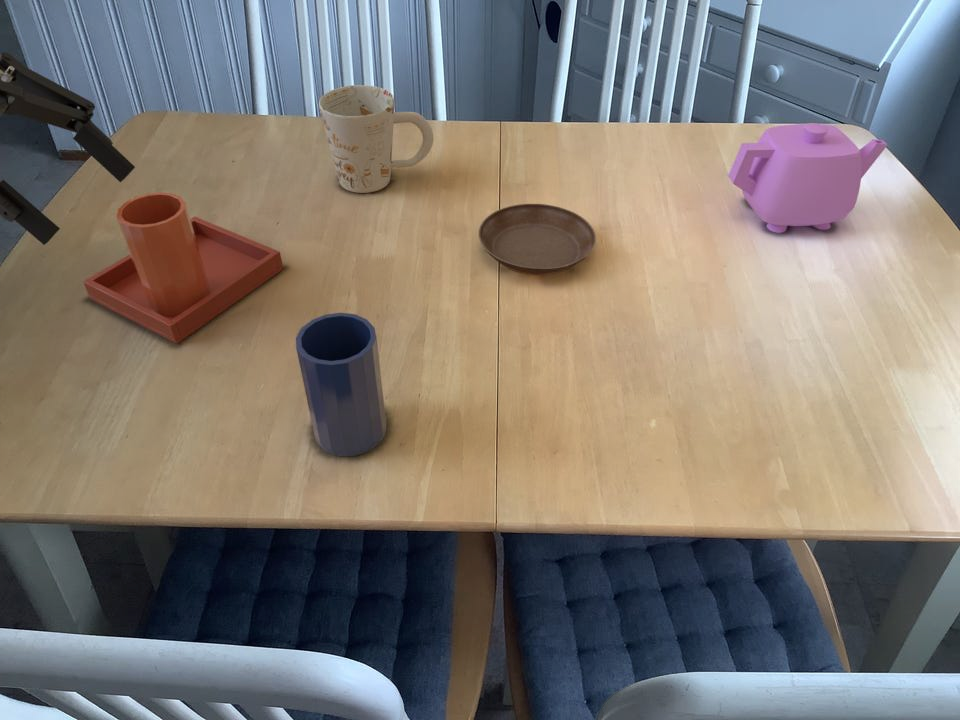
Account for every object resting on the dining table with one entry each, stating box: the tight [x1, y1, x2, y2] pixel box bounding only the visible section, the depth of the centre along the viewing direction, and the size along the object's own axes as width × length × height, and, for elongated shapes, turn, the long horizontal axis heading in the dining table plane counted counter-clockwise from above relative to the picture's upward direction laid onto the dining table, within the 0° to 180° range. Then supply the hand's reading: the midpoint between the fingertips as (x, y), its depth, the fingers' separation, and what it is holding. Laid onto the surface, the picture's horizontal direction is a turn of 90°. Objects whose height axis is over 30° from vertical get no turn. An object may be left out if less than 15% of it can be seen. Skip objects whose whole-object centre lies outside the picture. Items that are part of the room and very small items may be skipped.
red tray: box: [82, 216, 284, 345], centre depth 94 cm, size 17×15×3 cm
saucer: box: [478, 203, 597, 276], centre depth 99 cm, size 15×15×3 cm
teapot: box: [727, 122, 888, 234], centre depth 102 cm, size 20×12×13 cm, turn 97°
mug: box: [318, 84, 434, 194], centre depth 109 cm, size 10×15×12 cm, turn 101°
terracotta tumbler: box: [116, 191, 211, 316], centre depth 87 cm, size 7×7×12 cm
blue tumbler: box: [295, 312, 387, 457], centre depth 73 cm, size 7×7×12 cm
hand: (92, 204), depth 84 cm, fingers open, 13 cm apart
